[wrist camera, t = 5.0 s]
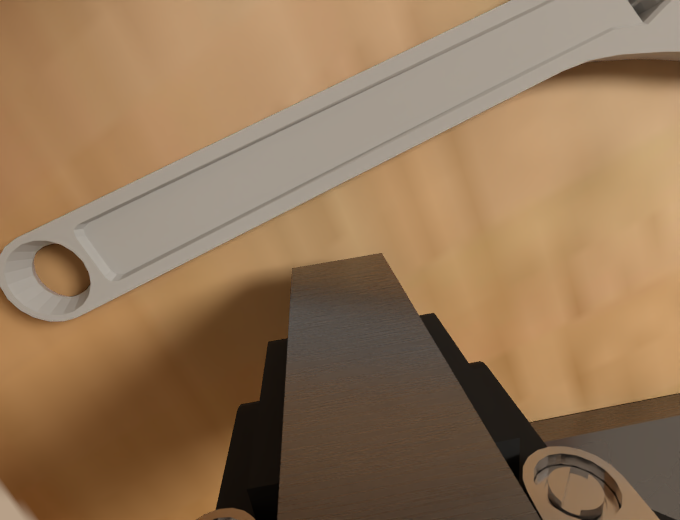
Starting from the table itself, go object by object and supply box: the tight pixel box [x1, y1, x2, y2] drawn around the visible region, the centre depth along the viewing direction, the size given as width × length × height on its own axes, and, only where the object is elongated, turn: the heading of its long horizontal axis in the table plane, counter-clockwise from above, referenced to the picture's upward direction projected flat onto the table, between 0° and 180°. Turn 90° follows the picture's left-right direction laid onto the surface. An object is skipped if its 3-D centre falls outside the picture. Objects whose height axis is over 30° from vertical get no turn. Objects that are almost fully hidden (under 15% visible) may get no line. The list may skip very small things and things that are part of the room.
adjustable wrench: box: [0, 0, 680, 321], centre depth 11 cm, size 25×6×2 cm, turn 111°
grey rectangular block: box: [277, 253, 541, 520], centre depth 7 cm, size 4×2×11 cm, turn 9°
